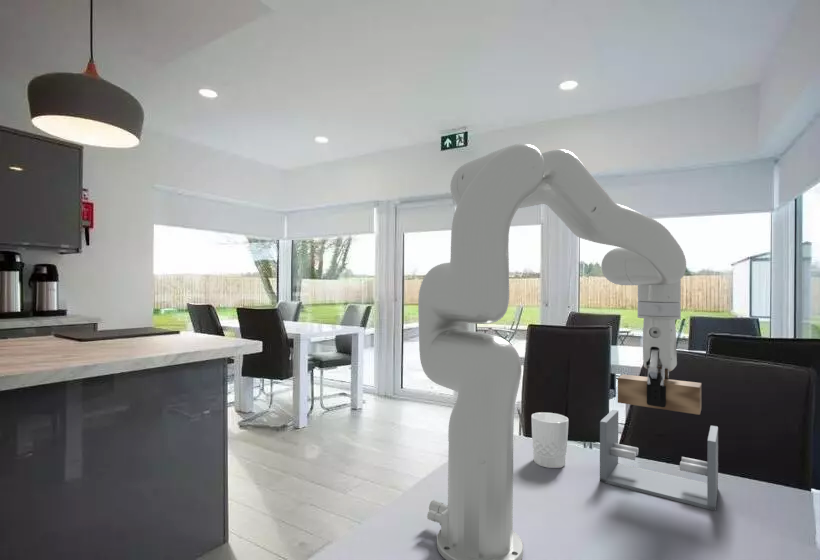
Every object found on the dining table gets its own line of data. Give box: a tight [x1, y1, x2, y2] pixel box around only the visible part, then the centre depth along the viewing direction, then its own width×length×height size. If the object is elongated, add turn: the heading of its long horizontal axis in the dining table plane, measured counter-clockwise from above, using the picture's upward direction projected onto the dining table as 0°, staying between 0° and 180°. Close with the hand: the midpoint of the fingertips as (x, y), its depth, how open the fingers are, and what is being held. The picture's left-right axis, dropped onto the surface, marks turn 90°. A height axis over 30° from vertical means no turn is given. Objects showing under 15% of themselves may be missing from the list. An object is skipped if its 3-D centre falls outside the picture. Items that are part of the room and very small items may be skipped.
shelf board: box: [617, 374, 703, 415], centre depth 89 cm, size 14×5×5 cm, turn 54°
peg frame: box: [599, 409, 719, 511], centre depth 88 cm, size 19×11×12 cm, turn 54°
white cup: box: [531, 411, 569, 469], centre depth 99 cm, size 8×8×10 cm
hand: (658, 401), depth 89 cm, fingers closed on shelf board, 5 cm apart
